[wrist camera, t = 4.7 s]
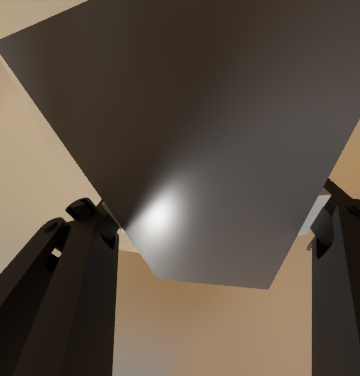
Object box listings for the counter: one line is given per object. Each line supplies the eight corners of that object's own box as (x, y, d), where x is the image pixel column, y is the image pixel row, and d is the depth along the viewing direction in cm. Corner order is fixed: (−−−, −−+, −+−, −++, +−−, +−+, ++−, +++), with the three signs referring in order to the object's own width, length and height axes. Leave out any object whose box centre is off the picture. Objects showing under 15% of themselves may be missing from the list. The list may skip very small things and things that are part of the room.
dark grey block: (131, 65, 10) (-7, 42, 4) (266, 25, 8) (526, -194, 2) (174, 208, 19) (157, 279, 12) (244, 207, 17) (268, 289, 10)
